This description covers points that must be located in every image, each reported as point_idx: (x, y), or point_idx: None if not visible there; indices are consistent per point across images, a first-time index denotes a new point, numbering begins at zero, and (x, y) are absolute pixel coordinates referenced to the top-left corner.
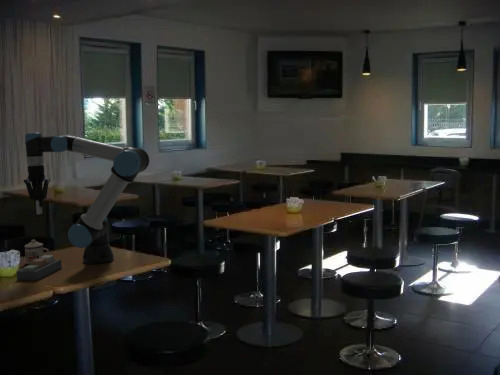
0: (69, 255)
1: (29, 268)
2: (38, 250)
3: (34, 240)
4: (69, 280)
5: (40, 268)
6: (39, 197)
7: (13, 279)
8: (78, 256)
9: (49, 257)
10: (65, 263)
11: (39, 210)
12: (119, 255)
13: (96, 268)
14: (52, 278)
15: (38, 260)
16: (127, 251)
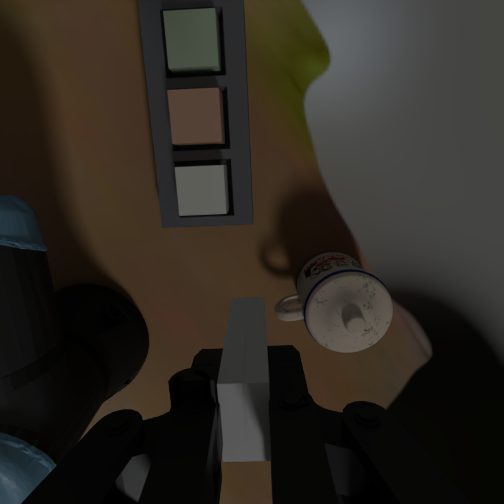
0: None
1: (182, 11)
2: (309, 287)
3: (347, 322)
4: (11, 36)
5: (157, 63)
6: (185, 431)
7: (267, 17)
8: None
9: (175, 173)
10: (197, 286)
11: (229, 319)
12: None
13: None
14: (104, 58)
15: (190, 104)
16: None
